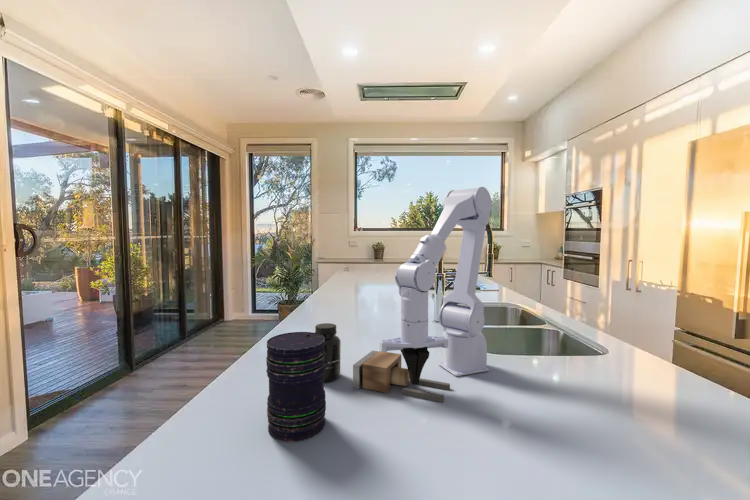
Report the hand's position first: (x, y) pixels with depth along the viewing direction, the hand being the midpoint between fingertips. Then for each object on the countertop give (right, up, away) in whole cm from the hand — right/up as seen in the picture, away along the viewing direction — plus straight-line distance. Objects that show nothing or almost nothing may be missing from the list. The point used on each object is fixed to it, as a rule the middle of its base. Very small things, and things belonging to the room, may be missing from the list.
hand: (414, 382), depth 72 cm
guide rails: (+3, -2, -1) cm, 3 cm away
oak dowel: (-5, -1, +2) cm, 5 cm away
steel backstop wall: (-10, -1, +5) cm, 11 cm away
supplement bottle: (-20, -1, +6) cm, 21 cm away
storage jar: (-22, -2, -14) cm, 26 cm away
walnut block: (-7, -1, +3) cm, 7 cm away
